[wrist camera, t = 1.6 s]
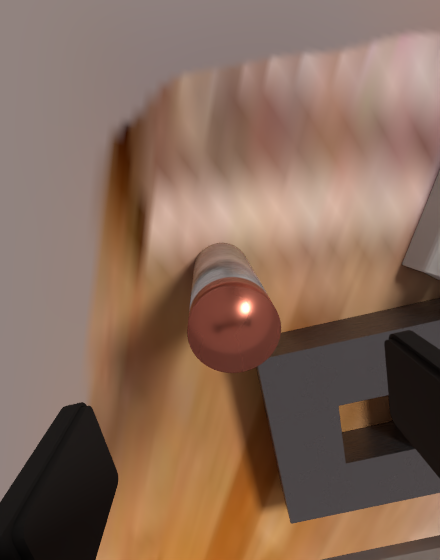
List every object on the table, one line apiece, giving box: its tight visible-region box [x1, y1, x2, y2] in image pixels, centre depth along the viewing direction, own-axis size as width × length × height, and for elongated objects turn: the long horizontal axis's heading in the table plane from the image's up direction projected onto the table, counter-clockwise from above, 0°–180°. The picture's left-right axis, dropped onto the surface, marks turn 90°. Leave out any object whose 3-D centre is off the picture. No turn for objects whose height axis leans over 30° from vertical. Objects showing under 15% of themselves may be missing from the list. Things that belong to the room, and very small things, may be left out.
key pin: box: [187, 243, 281, 373], centre depth 18 cm, size 4×4×10 cm
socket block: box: [256, 298, 440, 524], centre depth 26 cm, size 16×16×3 cm
